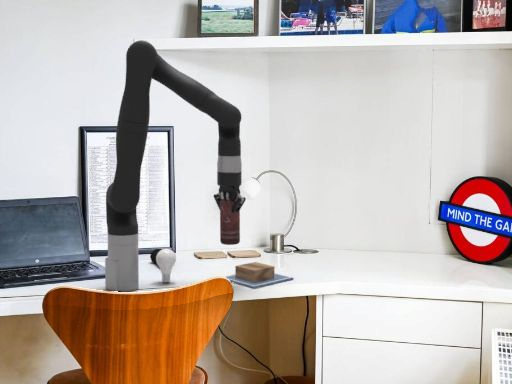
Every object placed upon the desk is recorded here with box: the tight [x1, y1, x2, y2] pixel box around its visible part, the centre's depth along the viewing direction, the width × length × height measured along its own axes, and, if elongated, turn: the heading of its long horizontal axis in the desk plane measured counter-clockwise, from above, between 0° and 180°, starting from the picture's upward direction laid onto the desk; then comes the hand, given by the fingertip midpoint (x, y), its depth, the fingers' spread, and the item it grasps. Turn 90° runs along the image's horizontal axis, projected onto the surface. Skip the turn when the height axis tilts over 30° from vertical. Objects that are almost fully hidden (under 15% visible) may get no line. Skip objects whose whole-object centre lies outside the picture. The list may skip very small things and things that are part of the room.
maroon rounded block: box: [219, 199, 241, 246], centre depth 209 cm, size 6×6×14 cm
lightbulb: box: [156, 248, 177, 284], centre depth 214 cm, size 6×6×11 cm
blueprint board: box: [224, 272, 294, 290], centre depth 220 cm, size 18×16×1 cm
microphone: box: [149, 248, 163, 264], centre depth 236 cm, size 6×6×20 cm
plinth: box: [234, 261, 275, 283], centre depth 219 cm, size 9×9×4 cm
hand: (229, 225), depth 209 cm, fingers closed
